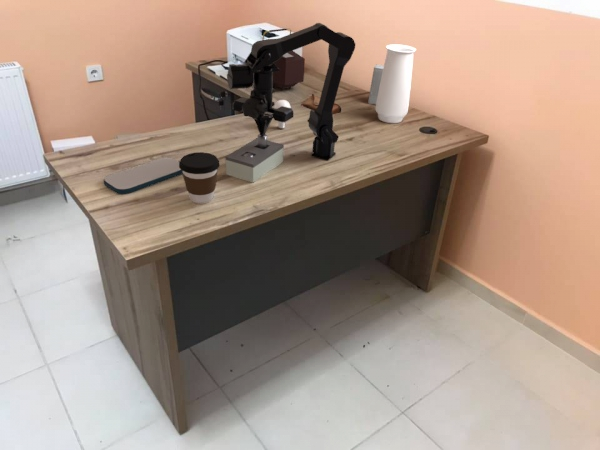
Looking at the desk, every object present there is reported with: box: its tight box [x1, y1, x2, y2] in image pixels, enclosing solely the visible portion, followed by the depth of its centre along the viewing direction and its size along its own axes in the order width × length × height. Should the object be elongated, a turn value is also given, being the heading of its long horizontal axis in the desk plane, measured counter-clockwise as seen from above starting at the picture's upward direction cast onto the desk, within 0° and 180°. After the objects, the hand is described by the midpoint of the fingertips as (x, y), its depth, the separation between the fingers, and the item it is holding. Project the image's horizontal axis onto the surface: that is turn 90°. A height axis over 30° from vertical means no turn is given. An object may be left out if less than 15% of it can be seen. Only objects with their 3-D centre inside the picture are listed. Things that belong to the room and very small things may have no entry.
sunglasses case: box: [300, 93, 342, 115], centre depth 209 cm, size 18×7×7 cm
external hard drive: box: [103, 156, 183, 195], centre depth 149 cm, size 24×12×2 cm, turn 138°
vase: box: [374, 44, 417, 124], centre depth 195 cm, size 13×13×28 cm
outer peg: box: [244, 153, 253, 158], centre depth 153 cm, size 3×3×6 cm
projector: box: [251, 28, 306, 91], centre depth 225 cm, size 16×23×25 cm
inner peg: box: [257, 133, 268, 149], centre depth 158 cm, size 3×3×6 cm
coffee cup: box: [179, 151, 220, 205], centre depth 137 cm, size 11×11×12 cm
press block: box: [225, 137, 285, 183], centre depth 157 cm, size 10×18×6 cm, turn 152°
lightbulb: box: [273, 99, 292, 130], centre depth 185 cm, size 6×6×11 cm
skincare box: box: [367, 64, 384, 106], centre depth 214 cm, size 8×7×16 cm
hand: (262, 135), depth 156 cm, fingers closed, pressing on inner peg
